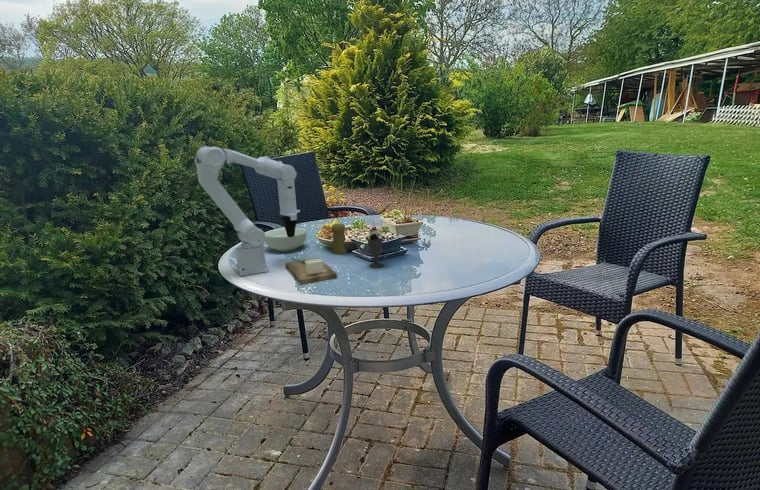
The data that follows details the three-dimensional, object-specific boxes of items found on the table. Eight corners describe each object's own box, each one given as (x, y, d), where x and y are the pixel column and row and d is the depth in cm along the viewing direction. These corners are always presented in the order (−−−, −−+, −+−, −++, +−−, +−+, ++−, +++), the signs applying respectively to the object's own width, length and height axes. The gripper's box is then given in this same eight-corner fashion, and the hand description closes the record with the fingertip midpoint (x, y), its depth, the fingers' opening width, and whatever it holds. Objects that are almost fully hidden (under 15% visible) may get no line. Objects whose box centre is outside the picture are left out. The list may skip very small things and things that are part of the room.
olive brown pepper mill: (345, 254, 169) (343, 225, 166) (330, 253, 170) (328, 225, 167) (349, 249, 174) (348, 222, 172) (334, 249, 176) (332, 222, 173)
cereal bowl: (311, 242, 187) (309, 226, 185) (303, 254, 171) (301, 236, 169) (271, 243, 188) (269, 227, 186) (259, 255, 172) (257, 237, 170)
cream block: (308, 274, 142) (307, 263, 141) (305, 272, 145) (304, 260, 144) (323, 272, 144) (322, 260, 143) (320, 269, 147) (319, 258, 146)
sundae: (376, 261, 159) (374, 220, 154) (389, 265, 154) (388, 222, 150) (362, 266, 154) (360, 223, 150) (376, 270, 149) (374, 226, 145)
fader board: (300, 284, 139) (300, 279, 138) (285, 267, 156) (285, 262, 156) (337, 278, 143) (336, 273, 143) (318, 261, 161) (318, 257, 160)
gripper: (304, 200, 151) (307, 239, 155) (293, 195, 164) (296, 231, 168) (283, 202, 148) (287, 242, 152) (274, 197, 161) (278, 233, 165)
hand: (290, 236), depth 160 cm, fingers closed
